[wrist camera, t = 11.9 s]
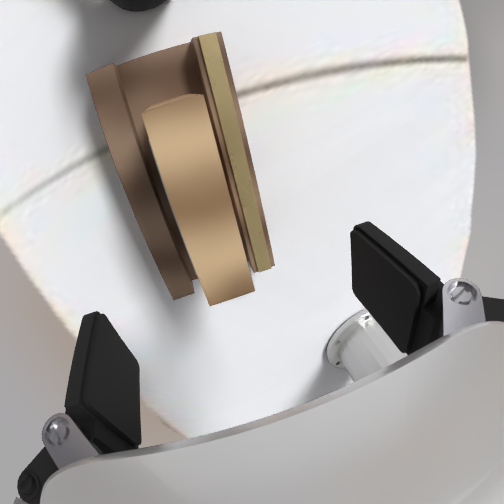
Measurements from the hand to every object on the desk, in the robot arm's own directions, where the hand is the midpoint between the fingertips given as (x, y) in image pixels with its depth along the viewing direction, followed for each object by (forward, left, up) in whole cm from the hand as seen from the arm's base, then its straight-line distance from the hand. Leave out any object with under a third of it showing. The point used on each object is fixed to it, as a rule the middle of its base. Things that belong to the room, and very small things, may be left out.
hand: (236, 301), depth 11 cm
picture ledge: (+1, 0, -18) cm, 18 cm away
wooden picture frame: (0, 0, -16) cm, 16 cm away
